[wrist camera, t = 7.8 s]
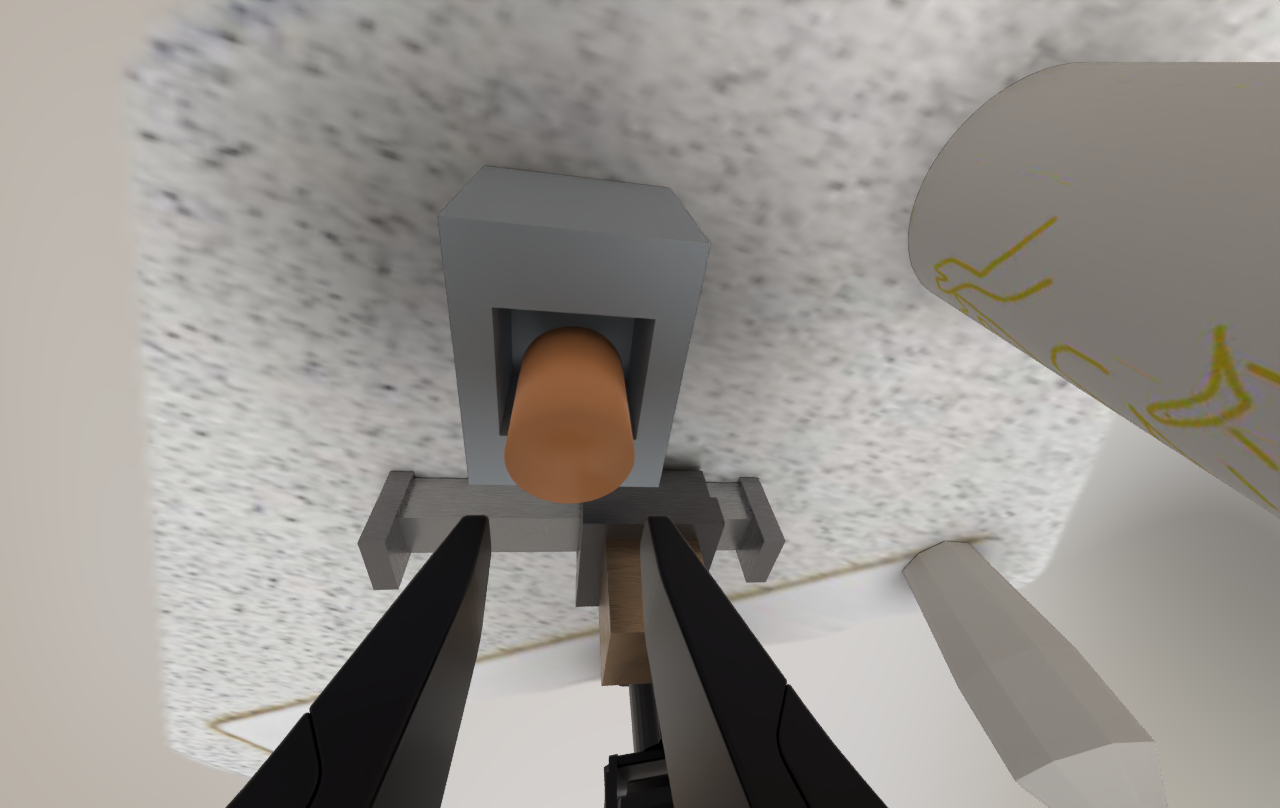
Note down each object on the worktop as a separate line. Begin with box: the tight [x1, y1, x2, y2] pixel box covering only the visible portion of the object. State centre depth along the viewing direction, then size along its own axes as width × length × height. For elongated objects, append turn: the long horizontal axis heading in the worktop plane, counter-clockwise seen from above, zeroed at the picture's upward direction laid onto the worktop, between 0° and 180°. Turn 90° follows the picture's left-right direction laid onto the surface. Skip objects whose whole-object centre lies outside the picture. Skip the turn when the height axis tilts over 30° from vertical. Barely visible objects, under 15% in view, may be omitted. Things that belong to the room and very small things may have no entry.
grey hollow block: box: [438, 166, 711, 487], centre depth 15 cm, size 8×6×6 cm
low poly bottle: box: [903, 541, 1168, 808], centre depth 22 cm, size 6×6×22 cm
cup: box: [908, 62, 1280, 519], centre depth 12 cm, size 8×8×12 cm
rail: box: [358, 471, 785, 590], centre depth 22 cm, size 3×18×4 cm, turn 83°
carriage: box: [576, 470, 725, 686], centre depth 21 cm, size 6×6×8 cm
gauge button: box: [504, 326, 635, 504], centre depth 12 cm, size 3×3×4 cm
